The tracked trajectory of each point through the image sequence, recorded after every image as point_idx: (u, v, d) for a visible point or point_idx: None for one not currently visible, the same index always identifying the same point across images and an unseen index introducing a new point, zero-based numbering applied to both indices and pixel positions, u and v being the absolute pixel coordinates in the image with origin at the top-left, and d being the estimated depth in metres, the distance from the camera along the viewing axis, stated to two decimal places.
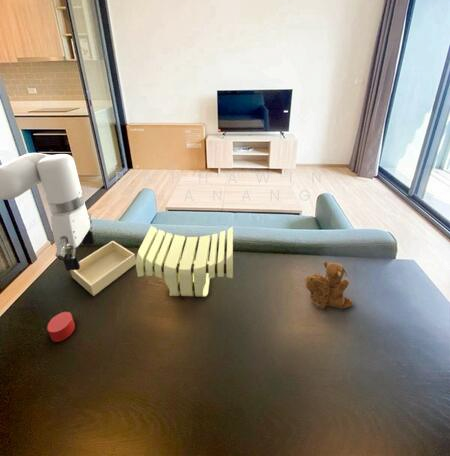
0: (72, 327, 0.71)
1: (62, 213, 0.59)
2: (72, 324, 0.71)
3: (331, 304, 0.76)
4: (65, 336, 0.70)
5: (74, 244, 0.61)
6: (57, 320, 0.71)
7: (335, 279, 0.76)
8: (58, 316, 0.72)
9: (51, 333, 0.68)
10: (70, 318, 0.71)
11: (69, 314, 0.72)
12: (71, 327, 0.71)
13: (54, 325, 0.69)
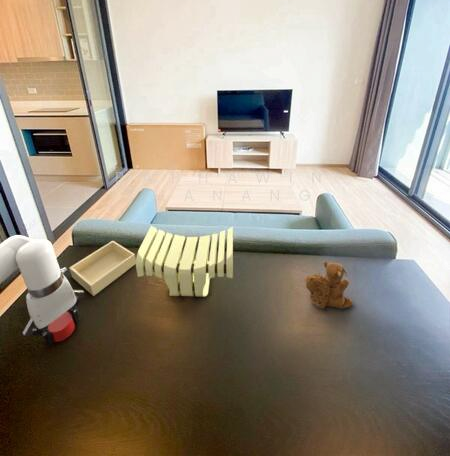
0: (72, 327, 0.71)
1: (31, 297, 0.62)
2: (72, 324, 0.71)
3: (331, 304, 0.76)
4: (65, 336, 0.70)
5: (38, 326, 0.64)
6: (57, 320, 0.71)
7: (335, 279, 0.76)
8: None
9: (51, 333, 0.68)
10: (70, 318, 0.71)
11: (69, 314, 0.72)
12: (71, 327, 0.71)
13: (54, 325, 0.69)
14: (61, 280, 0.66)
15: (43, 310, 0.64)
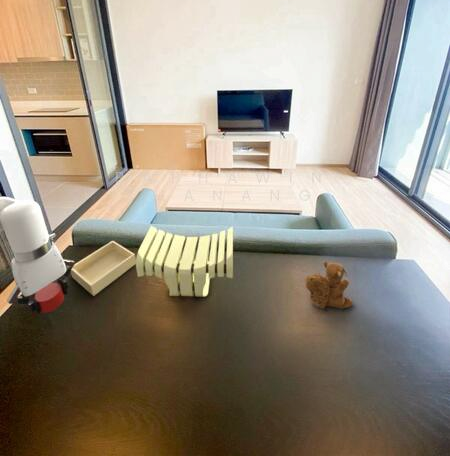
0: (61, 298, 0.67)
1: (17, 261, 0.58)
2: (61, 295, 0.67)
3: (331, 304, 0.76)
4: (53, 307, 0.65)
5: (24, 293, 0.60)
6: (45, 290, 0.67)
7: (335, 279, 0.76)
8: (47, 286, 0.68)
9: (38, 303, 0.64)
10: (59, 288, 0.67)
11: (58, 285, 0.68)
12: (60, 298, 0.67)
13: (41, 295, 0.65)
14: (49, 245, 0.62)
15: (29, 276, 0.60)
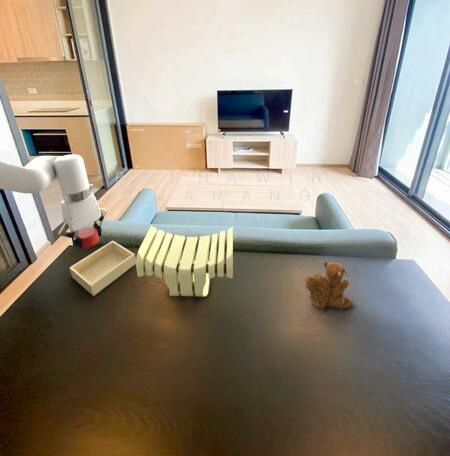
0: (97, 238, 0.83)
1: (66, 201, 0.74)
2: (97, 235, 0.83)
3: (331, 304, 0.76)
4: (92, 244, 0.81)
5: (71, 228, 0.75)
6: (85, 231, 0.82)
7: (335, 279, 0.76)
8: (85, 229, 0.83)
9: None
10: (96, 230, 0.83)
11: (94, 228, 0.84)
12: (96, 237, 0.82)
13: (82, 234, 0.81)
14: (89, 192, 0.77)
15: (75, 214, 0.75)
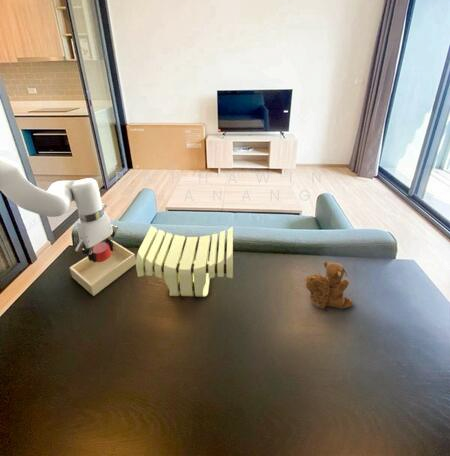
0: (109, 253, 0.90)
1: (82, 221, 0.81)
2: (109, 250, 0.90)
3: (331, 304, 0.76)
4: (105, 258, 0.88)
5: (86, 245, 0.83)
6: (98, 246, 0.90)
7: (335, 279, 0.76)
8: (98, 244, 0.91)
9: (95, 254, 0.87)
10: (108, 245, 0.90)
11: (107, 243, 0.91)
12: (109, 252, 0.90)
13: (96, 250, 0.88)
14: (103, 211, 0.85)
15: (90, 233, 0.83)
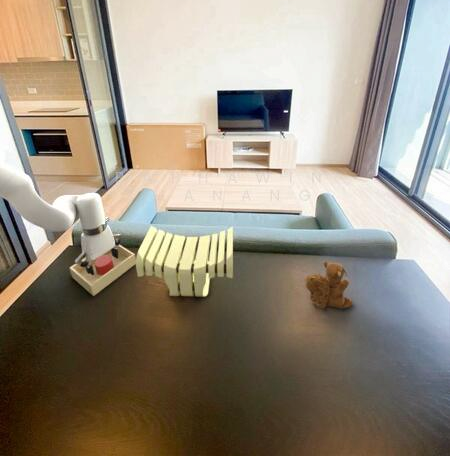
0: (112, 265, 0.92)
1: (85, 235, 0.83)
2: (112, 263, 0.93)
3: (331, 304, 0.76)
4: (108, 271, 0.91)
5: (89, 258, 0.85)
6: (101, 260, 0.92)
7: (335, 279, 0.76)
8: (101, 257, 0.93)
9: (98, 267, 0.89)
10: (111, 258, 0.92)
11: (109, 256, 0.93)
12: (112, 265, 0.92)
13: (99, 263, 0.90)
14: (106, 225, 0.87)
15: (93, 246, 0.85)
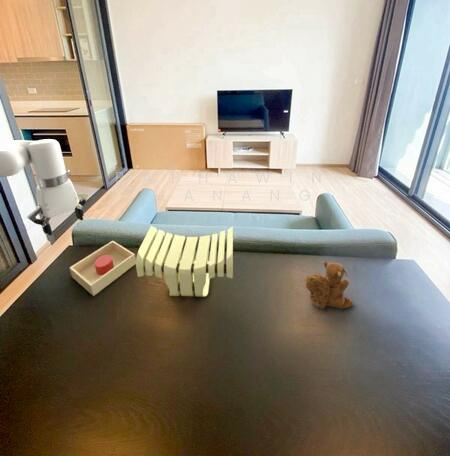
0: (112, 265, 0.92)
1: (40, 187, 0.72)
2: (112, 263, 0.93)
3: (331, 304, 0.76)
4: (108, 271, 0.91)
5: (46, 214, 0.74)
6: (101, 260, 0.92)
7: (335, 279, 0.76)
8: (101, 257, 0.93)
9: (98, 267, 0.89)
10: (111, 258, 0.92)
11: (109, 256, 0.93)
12: (112, 265, 0.92)
13: (99, 263, 0.90)
14: (66, 178, 0.76)
15: (50, 200, 0.74)
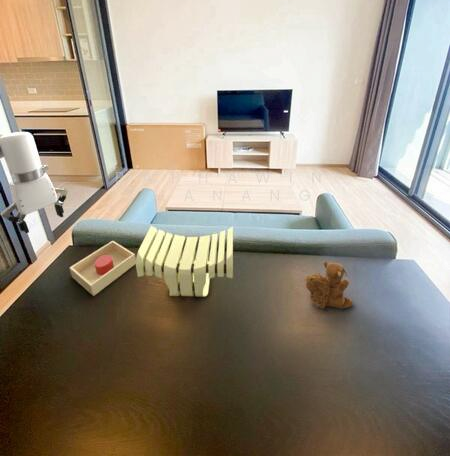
0: (112, 265, 0.92)
1: (14, 182, 0.69)
2: (112, 263, 0.93)
3: (331, 304, 0.76)
4: (108, 271, 0.91)
5: (20, 211, 0.70)
6: (101, 260, 0.92)
7: (335, 279, 0.76)
8: (101, 257, 0.93)
9: (98, 267, 0.89)
10: (111, 258, 0.92)
11: (109, 256, 0.93)
12: (112, 265, 0.92)
13: (99, 263, 0.90)
14: (42, 172, 0.72)
15: (25, 196, 0.70)
